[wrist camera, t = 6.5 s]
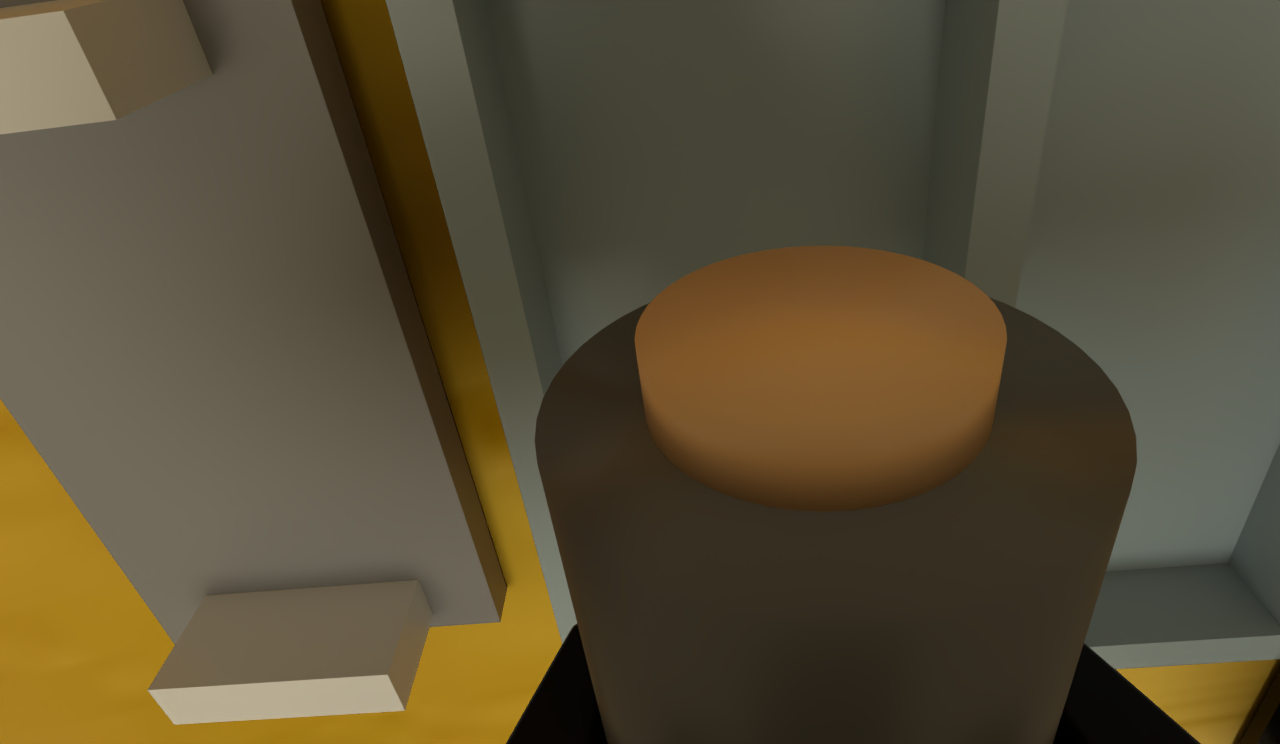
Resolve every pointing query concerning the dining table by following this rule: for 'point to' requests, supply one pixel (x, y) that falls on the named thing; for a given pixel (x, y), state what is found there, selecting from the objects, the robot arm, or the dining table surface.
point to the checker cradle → (230, 351)
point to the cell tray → (905, 220)
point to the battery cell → (832, 506)
